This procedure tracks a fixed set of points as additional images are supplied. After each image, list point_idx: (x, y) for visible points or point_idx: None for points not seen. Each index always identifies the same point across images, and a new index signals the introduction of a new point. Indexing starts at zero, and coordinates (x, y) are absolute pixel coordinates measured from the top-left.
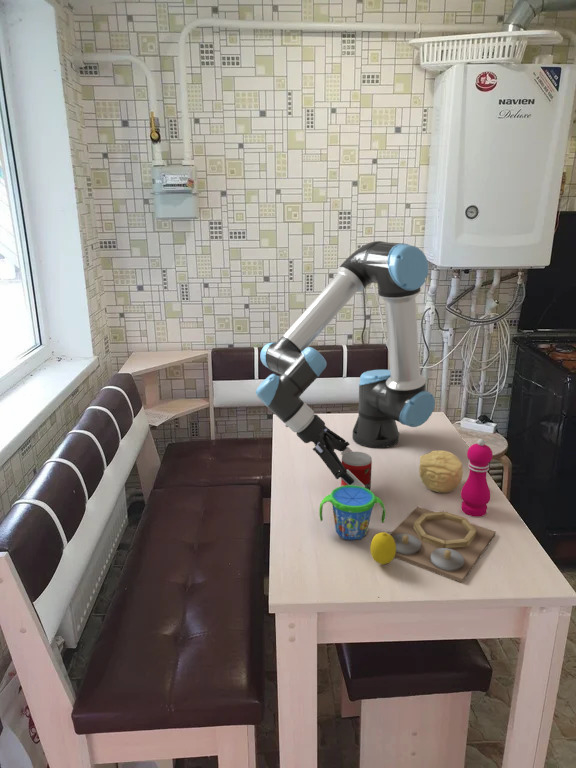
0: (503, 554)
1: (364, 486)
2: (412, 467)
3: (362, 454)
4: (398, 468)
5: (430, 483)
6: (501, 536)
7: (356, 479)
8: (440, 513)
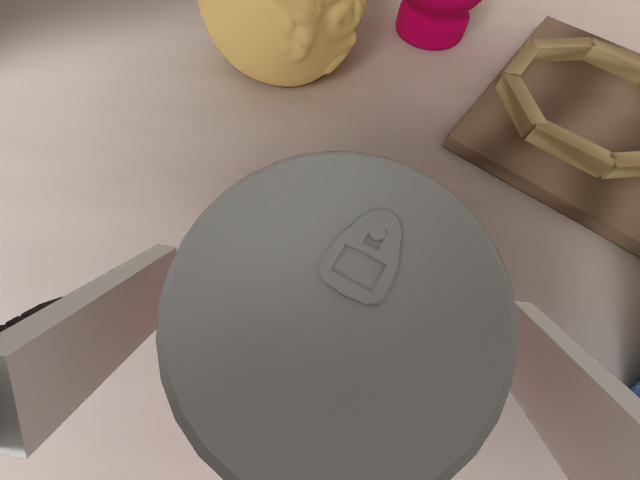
0: (621, 37)
1: (532, 305)
2: (127, 91)
3: (248, 215)
4: (117, 132)
5: (334, 54)
6: (542, 20)
7: (591, 359)
8: (519, 83)
